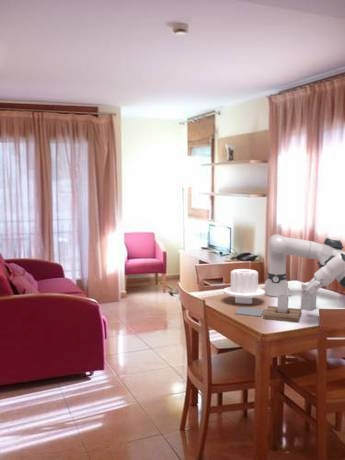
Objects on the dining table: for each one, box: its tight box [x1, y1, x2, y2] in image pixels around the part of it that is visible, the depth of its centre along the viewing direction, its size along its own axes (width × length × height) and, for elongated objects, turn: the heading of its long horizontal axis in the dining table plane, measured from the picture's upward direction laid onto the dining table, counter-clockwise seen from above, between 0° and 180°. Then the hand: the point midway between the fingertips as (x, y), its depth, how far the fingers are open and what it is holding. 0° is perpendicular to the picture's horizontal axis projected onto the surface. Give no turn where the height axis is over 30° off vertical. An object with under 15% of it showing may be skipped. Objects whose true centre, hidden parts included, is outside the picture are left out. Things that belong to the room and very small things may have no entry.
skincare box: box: [300, 281, 318, 312], centre depth 251 cm, size 8×6×15 cm
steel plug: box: [277, 295, 289, 314], centre depth 236 cm, size 5×5×11 cm
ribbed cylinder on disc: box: [223, 268, 266, 305], centre depth 266 cm, size 25×25×19 cm
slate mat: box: [234, 306, 266, 318], centre depth 244 cm, size 14×14×1 cm
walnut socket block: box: [262, 305, 302, 324], centre depth 236 cm, size 18×18×2 cm
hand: (302, 295), depth 231 cm, fingers open, 8 cm apart
